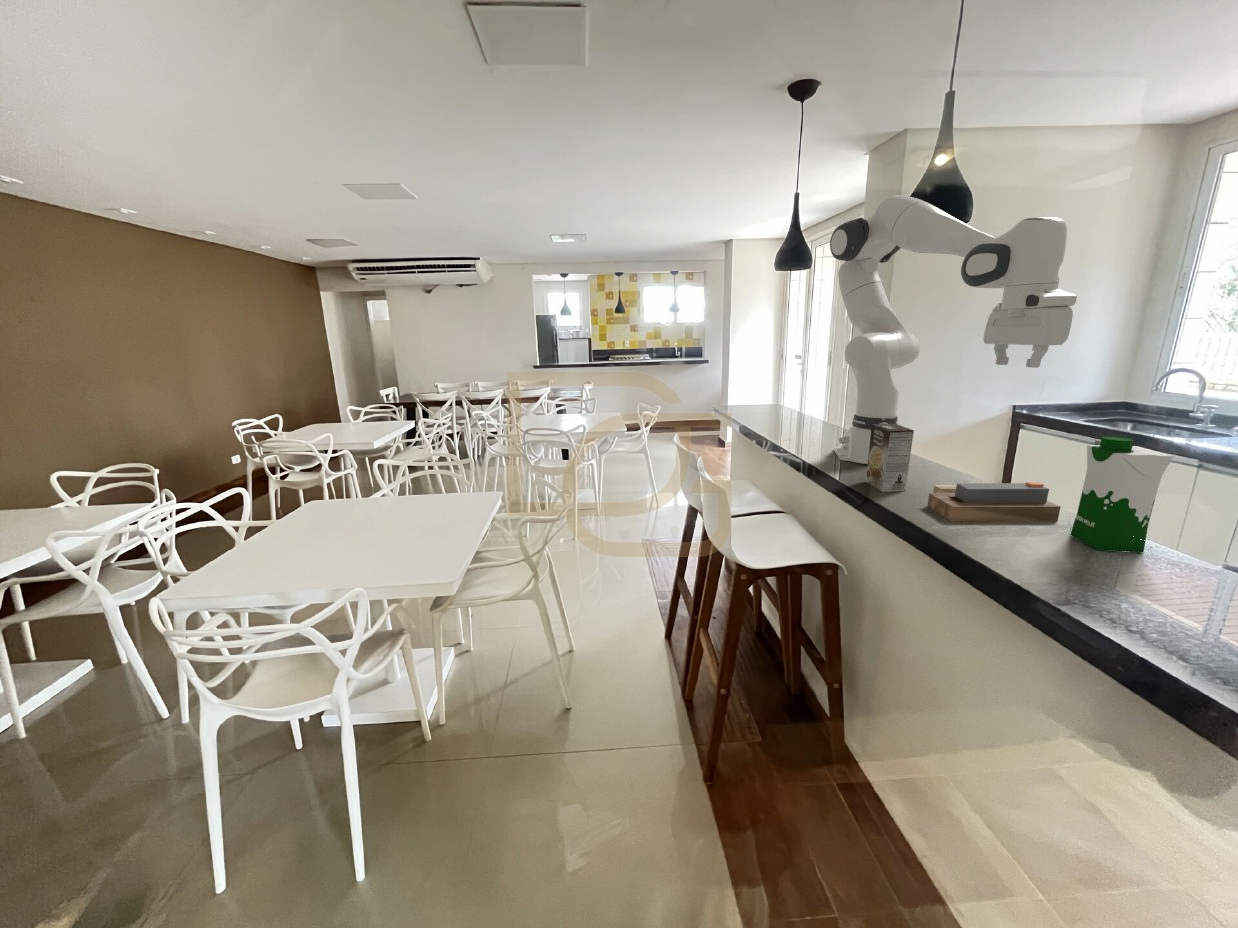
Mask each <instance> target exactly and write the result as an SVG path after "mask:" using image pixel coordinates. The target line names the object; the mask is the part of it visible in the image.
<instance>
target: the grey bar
mask: <svg viewBox="0 0 1238 928" xmlns="http://www.w3.org/2000/svg"><path fill="white" fill-rule="evenodd" d="M956 485H957V486H956V492H955V497H957V498H959V499H960V500H962V501H964V502H966V503H976V502H1047V501H1048V496H1049V492H1050V488H1048V487H1045V485H1044V483H1041V482H1039V481H1031V482H1030V481H1026V482H1023V483H1022V482H1017V483H1016V482H1010V483H1009V482H1007V483H1006V482H1003V483H1001V482H1000V483H997V482H995V483H993V482H991V483H990V482H989V483H985V482H984V483H983V482H980V483H976V482H975V483H965V482H964V483H963V482H962V483H956Z"/></svg>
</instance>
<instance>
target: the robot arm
mask: <svg viewBox="0 0 1238 928" xmlns="http://www.w3.org/2000/svg"><path fill="white" fill-rule="evenodd" d="M1067 228H1068V227H1067V223H1066V221H1065V220H1064V219H1062V218H1059V217H1050V216H1049V217H1044V216H1042V217H1040V216H1039V217H1027V218H1024V219H1021V220H1019V221H1018V222H1017V223H1016V224H1015V225H1014V226H1013V227H1012V228H1011V229H1010V230H1008V231H1006V232H1005V233H1003V234H1001V235H1000V236H995V235H992V234H990V233H987V232H984V231H982V230H979V229H978V228H975V227H972V226H971V225H969V224H967V223H965V222H964V221H961V220H959V219H957V218H956V217H955V216H952V215H951V214H949V213H947V212H945V211H944V210H942V209H940V208H939V207H936V206H935V205H933V204H931V203H929V202H927V201H924V200H922V199H919V198H917V197H912V196H907V195H901V194H895V195H891V196H888V197H886V198H885V199H884V200H883V201H882V202H881V203H880V204H878V206H877V208H876V209H875V211H874V214H873V215H872V216H870V217H867V218H863V217H859V218H856V219H851V220H848V221H846V222H844V223H841V224H839V225H838V226H837V227H836V228H835V229H834V230H833V232H832V234H831V236H830V240H829V249H830V253H831V255H832V256H833V258H834V259H836V260H839V261H841V262H843V263H842V264H841V265H840V267H839V269H838V272H837V274H838V275H837V277H838V284H839V289H840V294H841V298H842V301H843V303H844V306H845V309H846V313H847V316H848V319H849V322H850V323H851V325H852V326H853V327H855V328H856V329H857V330H858V331H859V332H861V334H860V335H857V336H855V337H853V338H851V340H850V341H848V342H847V344H846V346H845V350H844V359H845V361H846V363H847V365H848V366H849V367H850V368H851V369H852V371H853V373H854V377H855V381H856V389H857V394H856V396H857V398H856V409H855V411H856V412H855V414H854V415H853V418H852V423H851V427H850V428H848V429H847V431H845V432H844V433H843V435H842V436H839V439H838V443H839V444H840V445H841V446H840V445H839V446H834V447H833V451H834V452H835V454H836V456H837V457H838V459H839V460H840V461H845V462H846V461H848V462H852V463H857V464H863V465H865V464H866V465H867V464H868V455H869V446H870V437H871V427H872V424H893V423H896V424H899V423H898V415H897V413H898V403H899V395H900V391H899V388H898V387H897V386H896V384H895V383H894V380H893V376H892V369H899V368H902V367H905V366H907V365H909V364H911V363H913V362H914V361H915V360H916V359H917V358H918V356H919V354H920V350H921V346H920V345H921V344H920V341H919V339H918V338H917V337H916V336H915V335H913V334H912V333H911V332H909V330H907V328H906V327H905V326H904V324H903V322H901V321H900V319H899V318H898V316H897V314H896V313H895V311H894V310H893V307H892V306H891V305H890V301H889V298H888V297H887V293H886V291H885V290H886V289H885V288H884V285H883V282H882V279H881V277H880V274H879V271H878V268H879V264H881V263H882V264H884V263H887V262H889V260H890V259H891V258H892V256H894V255H895V254H897V252H899V251H900V250H901V249H903V250H906V251H910V252H913V253H918V254H934V255H935V254H937V255H938V254H939V255H940V254H942V255H953V256H958V257H962V258H964V259H963V261H962V263H961V267H960V274H961V275H960V276H961V278H962V280H963V283H965V285H966V286H969V287H973V288H977V289H1003V291H1002V300H1001V302H999V303H997V305H996V306H994V308H993V309H992V311H991V313H990V314H989V316H988V318H987V321H986V324H985V328H984V333H983V337H982V338H983V343H984V344H985V345H994V347H993V351H994V354H995V357H996V359H995V365H997V366H1005V365H1008V364H1009V359H1010V357H1009V356H1007V350H1008V348H1009V345H1013V346H1015V345H1019V346H1021V345H1022V346H1032V348H1031V350H1032V352H1033V353H1031V356H1030V358H1027V359H1026V363H1025V367H1026V368H1031V369H1032V368H1033V369H1034V368H1038V369H1039V367H1041V362H1042V359H1043V357H1045V355H1046V354H1047V353H1048V351H1049V348H1050V347H1049V346H1062V345H1064V343H1066V341H1067V340H1068V339H1069V336H1070V332H1071V327H1072V324H1073V323H1072V322H1073V318H1074V316H1073V315H1074V313H1073V309H1072V308H1071V307H1072V306H1073V307H1074V306H1075V305H1076V303H1077V298H1078V296H1077V295H1076V294H1074V293H1073V292H1070V291H1069V292H1068V291H1066V290H1063V289H1061V288H1059V284H1060V278H1059V271H1060V267H1062V264H1063V262H1064V259H1065V253H1066V247H1067V238H1068V236H1067V235H1068V234H1067V233H1068V229H1067Z"/></svg>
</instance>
